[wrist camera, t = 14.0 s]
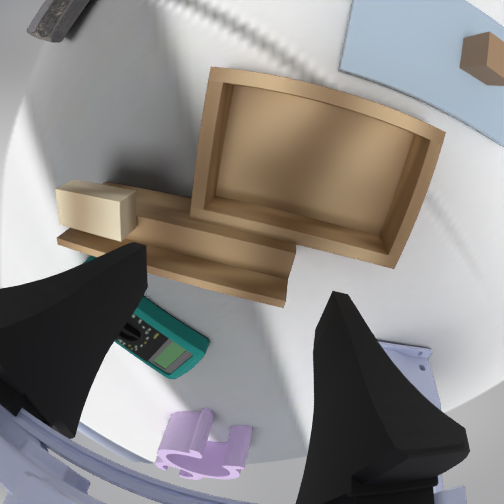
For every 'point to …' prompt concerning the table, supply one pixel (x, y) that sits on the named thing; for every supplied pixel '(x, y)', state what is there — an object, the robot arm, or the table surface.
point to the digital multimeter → (161, 340)
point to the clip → (202, 447)
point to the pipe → (55, 19)
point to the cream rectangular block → (97, 209)
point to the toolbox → (282, 187)
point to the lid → (432, 56)
